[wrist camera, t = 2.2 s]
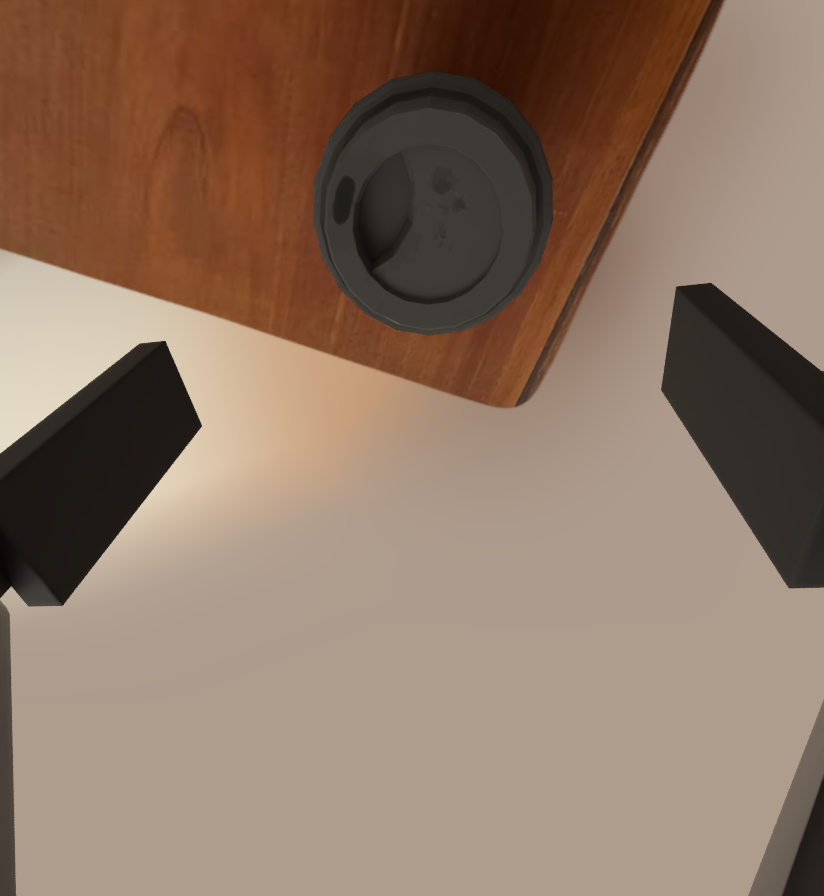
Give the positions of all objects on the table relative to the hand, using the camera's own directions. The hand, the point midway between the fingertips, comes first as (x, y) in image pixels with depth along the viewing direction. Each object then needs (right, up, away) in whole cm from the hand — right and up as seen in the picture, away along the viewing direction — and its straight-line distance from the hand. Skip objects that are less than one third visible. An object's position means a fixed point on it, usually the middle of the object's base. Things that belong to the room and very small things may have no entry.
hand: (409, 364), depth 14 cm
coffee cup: (+2, +16, +21) cm, 27 cm away
